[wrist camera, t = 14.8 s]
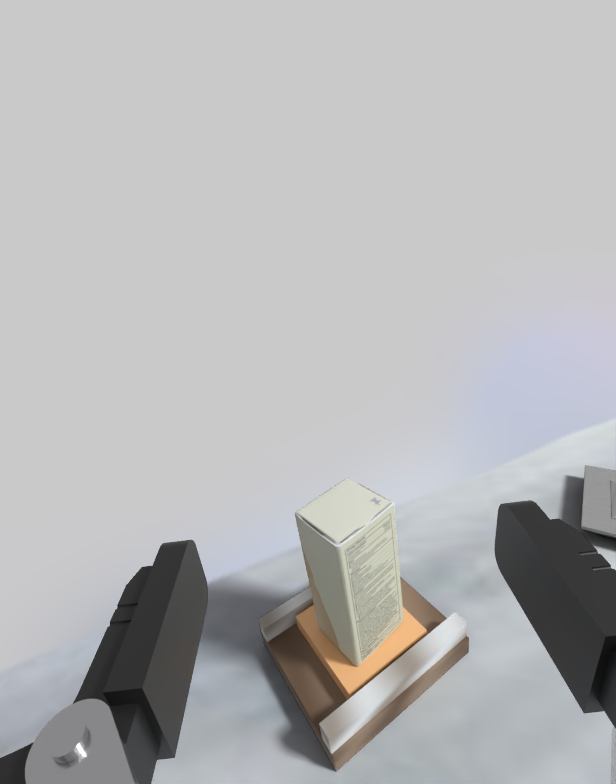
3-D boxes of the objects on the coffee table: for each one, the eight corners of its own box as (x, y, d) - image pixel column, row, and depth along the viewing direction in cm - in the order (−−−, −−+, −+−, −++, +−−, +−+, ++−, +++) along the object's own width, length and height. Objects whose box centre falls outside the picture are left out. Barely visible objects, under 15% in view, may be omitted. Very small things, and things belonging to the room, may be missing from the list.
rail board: (336, 771, 24) (330, 743, 23) (264, 643, 32) (257, 617, 31) (468, 651, 29) (469, 623, 28) (378, 567, 38) (375, 542, 36)
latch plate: (350, 704, 26) (348, 693, 25) (297, 627, 31) (295, 616, 31) (427, 641, 29) (426, 630, 29) (366, 580, 35) (365, 570, 34)
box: (363, 586, 33) (351, 473, 28) (406, 621, 29) (398, 499, 25) (314, 629, 30) (291, 510, 26) (355, 672, 27) (336, 545, 22)
